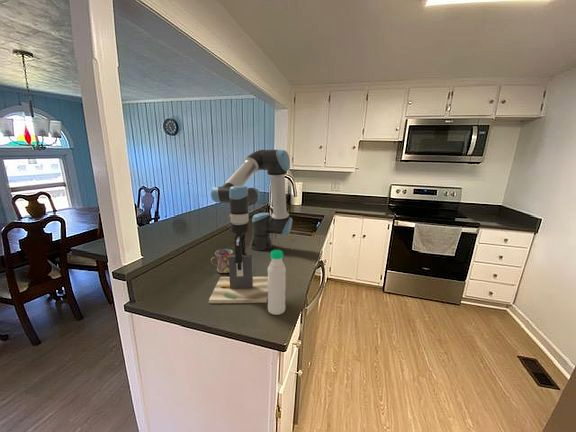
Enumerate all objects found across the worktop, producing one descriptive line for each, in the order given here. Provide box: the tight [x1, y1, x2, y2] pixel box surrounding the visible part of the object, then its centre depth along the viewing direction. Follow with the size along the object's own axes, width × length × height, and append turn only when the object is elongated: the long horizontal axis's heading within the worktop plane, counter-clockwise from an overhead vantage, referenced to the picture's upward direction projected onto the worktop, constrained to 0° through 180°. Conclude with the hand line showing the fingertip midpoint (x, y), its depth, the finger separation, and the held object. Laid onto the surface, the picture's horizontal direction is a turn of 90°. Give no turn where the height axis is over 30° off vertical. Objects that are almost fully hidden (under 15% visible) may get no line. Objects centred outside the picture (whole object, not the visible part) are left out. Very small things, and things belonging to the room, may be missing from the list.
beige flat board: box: [208, 276, 268, 304], centre depth 109 cm, size 20×24×2 cm
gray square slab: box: [221, 254, 254, 288], centre depth 107 cm, size 3×14×15 cm, turn 92°
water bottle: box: [267, 249, 287, 316], centre depth 92 cm, size 7×7×25 cm
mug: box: [210, 248, 234, 274], centre depth 126 cm, size 12×9×11 cm
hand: (241, 272), depth 107 cm, fingers open, 6 cm apart
